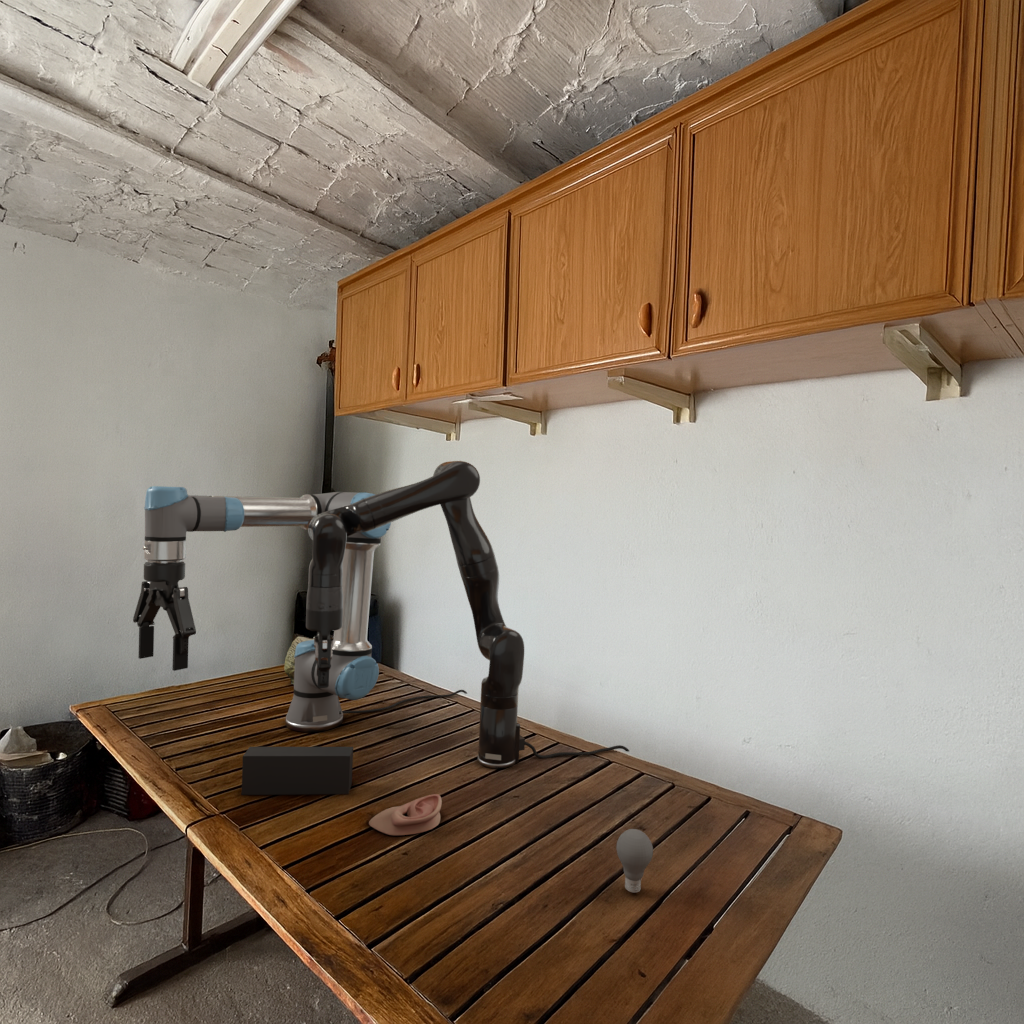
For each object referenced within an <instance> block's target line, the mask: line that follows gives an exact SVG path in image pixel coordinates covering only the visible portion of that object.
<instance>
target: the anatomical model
mask: <svg viewBox="0 0 1024 1024" xmlns="http://www.w3.org/2000/svg"><path fill="white" fill-rule="evenodd" d="M442 804H443V799H442V797H441V795H440V794H437V793H435V794H433V793H432V794H429V795H425V796H421V797H418V798H416V799H413V800H411V801H409V802H406V803H404V804H402V805H398V806H392V807H390V808H386V809H384V810H382V811H380V812H379V813H377V814H376V815H374V816H373V817H371V819H370V820H369V821H368V825H369V826H370V827H371V828H372V829H374V830H376V831H378V832H380V833H382V834H385V835H389V836H405V835H406V836H408V835H415V834H421V833H424V832H428V831H430V830H433V829H434V828H436V827H437V826H439V824H440V822H441V817H442V816H441V813H440V811H441V809H442Z"/></svg>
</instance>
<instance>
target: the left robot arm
mask: <svg viewBox="0 0 1024 1024" xmlns="http://www.w3.org/2000/svg"><path fill="white" fill-rule="evenodd" d="M376 494H377V493H376ZM376 494H375V493H371V492H366V491H365V492H363V491H362V492H355V491H354V492H352V491H351V492H350V491H333V492H325V493H313V494H312V493H305V494H303V495H301V496H300V497H282V496H242V495H241V496H238V495H237V496H235V495H198V494H197V495H196V494H195V495H193V494H188V490H187V488H186V487H185V486H164V485H163V486H161V485H160V486H159V485H152V486H150V487H148V488H147V489H146V492H145V499H144V507H143V509H144V545H143V546H142V550H143V551H144V555H143V559H144V560H146V561H145V562H144V564H143V579H144V581H141V584H140V585H141V588H140V593H139V597H138V601H137V603H136V608H135V610H134V614H133V617H132V622H133V623H134V624H135V623H137V624H136V625H137V627H138V659H139V660H141V659H147V658H152V657H154V651H155V650H154V649H155V645H154V644H155V626H154V625H155V624H156V623H155V621H154V620H155V619H156V616H157V615H158V613H159V611H160V610H161V608H162V610H163V611H166V613H167V616H168V620H169V623H170V624H171V627H172V630H173V632H174V635H173V636H172V668H171V669H172V671H180V670H184V669H188V668H189V639H190V637H191V636H193V635H196V634H197V630H196V625H195V621H194V617H193V612H192V608H191V603H190V599H189V588H188V587H187V586H183V587H181V586H179V582H180V581H183V580H184V579H186V563H185V561H184V560H185V559H186V555H187V554H186V552H187V551H186V550H187V533H193V532H224V533H226V532H232V531H238V530H239V529H241V528H248V527H249V528H251V527H253V528H256V527H257V528H259V527H261V528H262V527H263V528H264V527H265V528H266V527H300V528H301V529H302V530H307V531H308V526H309V523H310V521H311V520H312V519H313V518H314V517H315V516H316V515H318V514H321V513H323V512H326V511H329V510H333V509H336V508H340V507H344V506H348V505H351V504H353V503H355V502H357V501H360V500H362V499H365V498H368V497H370V496H373V495H376ZM391 524H392V522H391V523H388V524H386V525H383V526H381V527H378V528H376V529H373V530H370V531H367V532H359V533H355V534H353V535H350V536H348V537H347V541H346V548H345V554H344V559H343V583H342V589H343V619H342V627H341V628H340V629H338V630H335V631H334V630H333V638H334V644H333V647H332V659H331V663H330V665H331V668H330V670H329V686H328V687H327V688H318V676H317V660H316V659H315V647H314V640H308V641H304V642H301V643H299V644H298V645H297V646H296V650H295V656H294V658H295V669H294V684H293V695H292V696H293V697H292V699H291V702H290V704H289V708H288V711H287V713H286V715H285V726H286V728H287V729H289V730H291V731H294V732H295V731H296V732H301V733H316V732H325V731H329V730H332V729H335V728H337V727H339V726H340V725H342V723H343V722H344V715H345V714H365V713H375V712H381V711H386V710H389V709H392V708H395V707H397V706H398V705H401V704H404V703H407V702H411V701H415V700H422V699H429V698H448V697H453V696H455V695H458V694H459V693H464V694H465V695H466V694H468V692H467V691H466V690H465V689H458V690H456V691H454V692H452V693H447V694H432V695H431V694H430V695H429V694H428V695H421V696H420V695H419V696H415V697H410V698H406V699H402V700H399V701H397V702H395V703H393V704H391V705H389V706H385V707H380V708H373V709H362V710H343V709H342V706H341V702H340V699H339V698H341V699H344V700H345V699H347V700H350V701H357V700H360V699H363V698H364V697H366V696H367V695H368V694H370V692H371V691H372V690H373V689H374V688H375V686H376V684H377V682H378V679H379V676H380V675H379V674H380V668H379V664H378V662H377V661H376V659H374V657H373V656H372V651H373V645H372V644H371V643H370V641H368V630H369V629H368V628H369V620H370V619H369V616H370V606H371V594H372V593H371V592H372V582H373V570H374V569H373V568H374V558H375V557H374V556H375V551H376V549H377V548H379V547H380V546H381V544H382V543H381V541H382V538H383V536H385V535H386V534H387V532H388V531H389V530H390V528H391Z"/></svg>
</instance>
